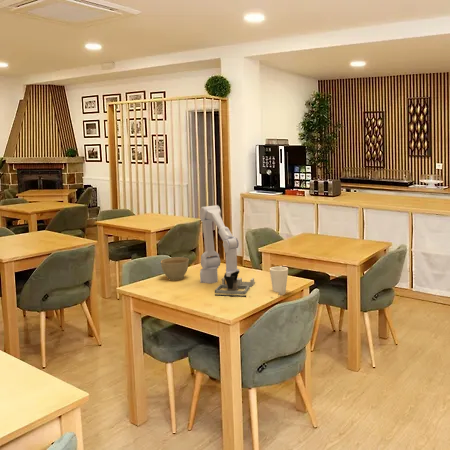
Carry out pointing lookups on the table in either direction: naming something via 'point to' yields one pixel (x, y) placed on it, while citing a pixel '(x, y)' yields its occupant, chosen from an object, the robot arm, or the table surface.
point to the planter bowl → (175, 267)
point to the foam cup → (279, 279)
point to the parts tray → (231, 291)
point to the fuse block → (241, 282)
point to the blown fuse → (234, 286)
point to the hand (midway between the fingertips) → (232, 286)
